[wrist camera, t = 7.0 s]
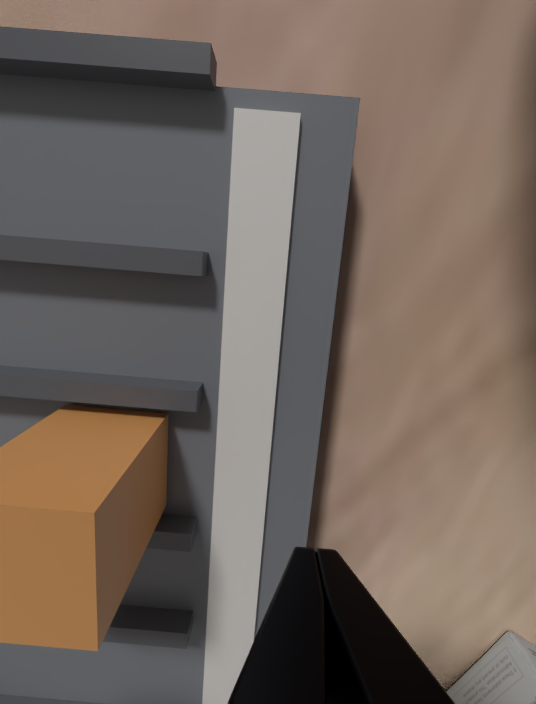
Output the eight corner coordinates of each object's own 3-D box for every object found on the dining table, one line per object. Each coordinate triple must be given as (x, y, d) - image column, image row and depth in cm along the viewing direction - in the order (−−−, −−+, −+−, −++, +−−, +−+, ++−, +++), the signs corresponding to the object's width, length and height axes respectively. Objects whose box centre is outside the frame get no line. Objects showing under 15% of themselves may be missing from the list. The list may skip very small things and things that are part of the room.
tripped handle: (168, 413, 11) (94, 512, 6) (166, 504, 11) (98, 651, 7) (65, 404, 11) (-79, 498, 6) (69, 496, 12) (-59, 637, 7)
